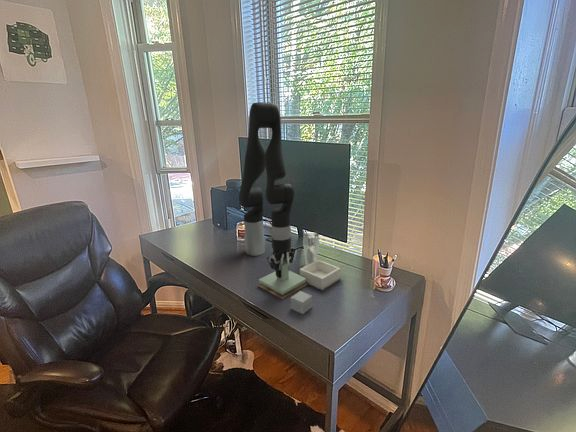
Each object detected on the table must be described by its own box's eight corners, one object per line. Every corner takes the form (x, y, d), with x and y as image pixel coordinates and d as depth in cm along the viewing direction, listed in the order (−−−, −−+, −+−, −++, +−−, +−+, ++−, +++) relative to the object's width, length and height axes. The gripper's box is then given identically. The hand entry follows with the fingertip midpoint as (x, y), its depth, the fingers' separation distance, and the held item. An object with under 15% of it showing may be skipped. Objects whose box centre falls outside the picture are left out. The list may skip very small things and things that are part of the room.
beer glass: (321, 264, 145) (321, 233, 140) (314, 270, 140) (314, 238, 135) (307, 260, 149) (307, 231, 144) (300, 266, 143) (300, 236, 138)
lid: (258, 282, 128) (257, 263, 125) (283, 270, 137) (282, 252, 134) (282, 294, 118) (281, 275, 116) (306, 281, 127) (306, 262, 125)
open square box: (299, 279, 132) (299, 269, 130) (318, 269, 140) (318, 259, 138) (322, 290, 124) (322, 279, 122) (340, 278, 132) (340, 268, 130)
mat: (258, 286, 128) (258, 284, 128) (283, 273, 137) (283, 272, 137) (282, 299, 119) (282, 297, 118) (307, 284, 128) (307, 283, 128)
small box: (300, 301, 117) (300, 290, 116) (312, 307, 114) (312, 295, 112) (290, 308, 113) (290, 296, 112) (302, 315, 110) (302, 302, 108)
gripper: (287, 228, 128) (288, 266, 134) (260, 238, 119) (263, 278, 124) (300, 232, 123) (301, 272, 129) (274, 243, 114) (276, 285, 119)
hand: (282, 275), depth 127 cm, fingers closed on lid, 3 cm apart
